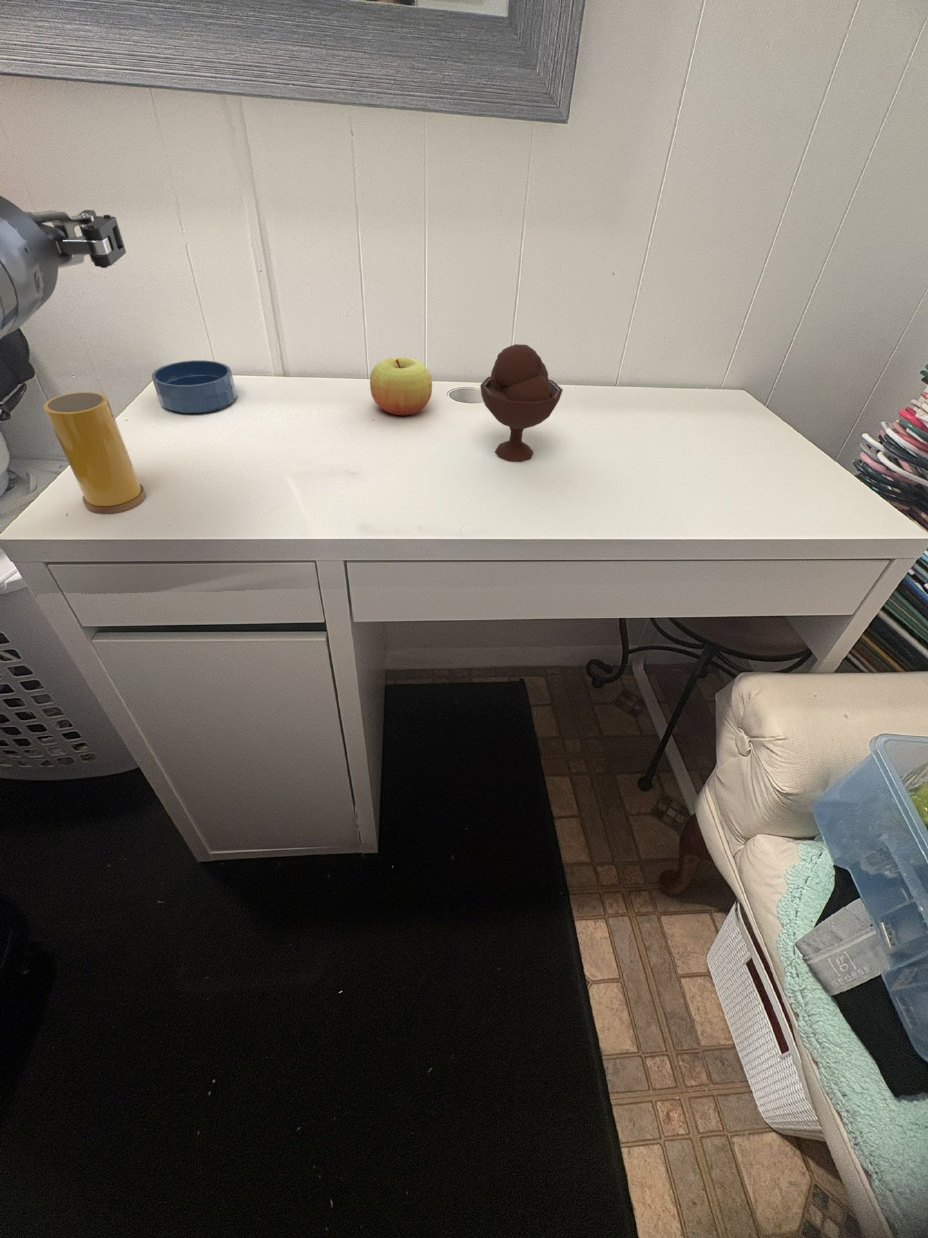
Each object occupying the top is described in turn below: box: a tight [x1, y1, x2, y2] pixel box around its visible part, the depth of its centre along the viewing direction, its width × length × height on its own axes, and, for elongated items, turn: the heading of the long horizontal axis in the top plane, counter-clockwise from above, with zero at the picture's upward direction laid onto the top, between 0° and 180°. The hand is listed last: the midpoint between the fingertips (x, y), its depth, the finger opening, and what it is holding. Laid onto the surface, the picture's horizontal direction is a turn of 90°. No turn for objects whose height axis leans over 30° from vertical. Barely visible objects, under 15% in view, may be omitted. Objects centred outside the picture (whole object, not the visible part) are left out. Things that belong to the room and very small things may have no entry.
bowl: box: [151, 359, 237, 415], centre depth 89 cm, size 11×11×4 cm
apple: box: [369, 356, 433, 416], centre depth 90 cm, size 10×10×8 cm
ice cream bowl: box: [480, 343, 564, 463], centre depth 77 cm, size 11×11×15 cm
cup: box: [43, 391, 141, 506], centre depth 64 cm, size 6×6×11 cm
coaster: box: [82, 483, 147, 515], centre depth 68 cm, size 7×7×1 cm
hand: (39, 223), depth 48 cm, fingers open, 8 cm apart
